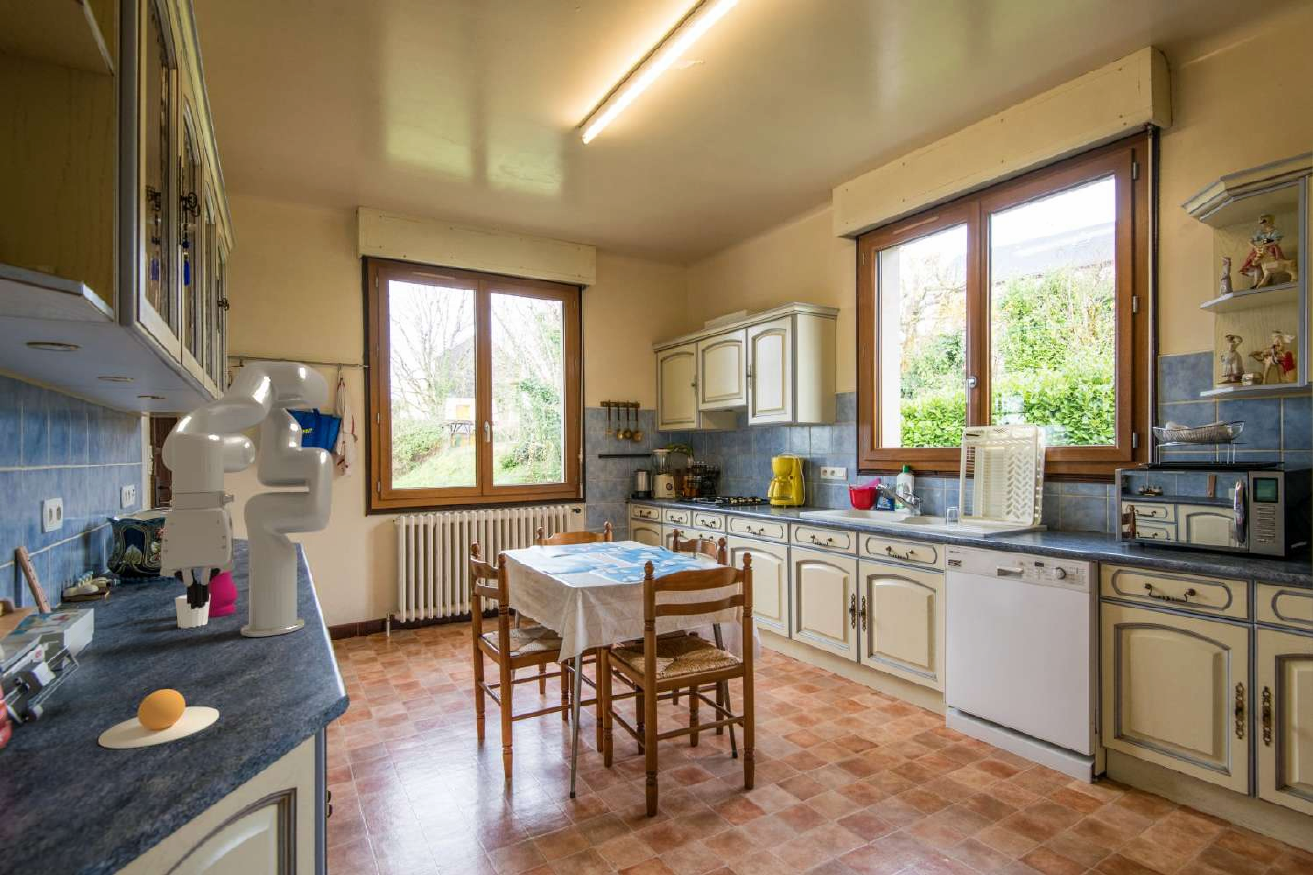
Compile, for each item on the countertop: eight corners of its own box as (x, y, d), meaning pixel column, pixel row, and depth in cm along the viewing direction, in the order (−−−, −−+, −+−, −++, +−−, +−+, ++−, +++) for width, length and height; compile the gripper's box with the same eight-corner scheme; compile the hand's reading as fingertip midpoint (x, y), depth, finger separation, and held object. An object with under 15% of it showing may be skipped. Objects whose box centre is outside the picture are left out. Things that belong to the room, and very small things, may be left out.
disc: (117, 718, 97) (117, 717, 97) (226, 701, 103) (226, 700, 103) (82, 757, 84) (82, 755, 84) (209, 735, 90) (209, 733, 90)
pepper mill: (237, 608, 168) (237, 532, 168) (237, 614, 162) (237, 535, 162) (204, 612, 164) (204, 535, 164) (202, 618, 158) (202, 538, 158)
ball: (143, 686, 94) (130, 704, 89) (187, 679, 96) (178, 696, 92) (146, 720, 95) (133, 741, 90) (190, 713, 97) (181, 732, 92)
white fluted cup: (191, 629, 148) (191, 599, 148) (167, 628, 149) (167, 598, 149) (217, 621, 155) (217, 592, 155) (194, 620, 156) (194, 592, 156)
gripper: (251, 499, 119) (251, 598, 118) (151, 503, 112) (151, 607, 112) (245, 501, 112) (245, 606, 111) (138, 506, 105) (138, 617, 105)
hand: (198, 606), depth 112 cm, fingers closed
